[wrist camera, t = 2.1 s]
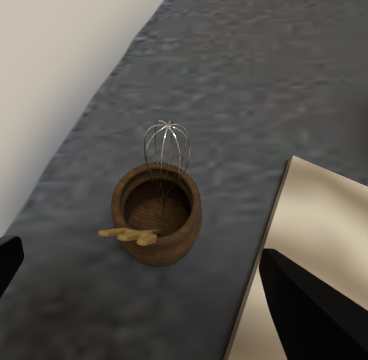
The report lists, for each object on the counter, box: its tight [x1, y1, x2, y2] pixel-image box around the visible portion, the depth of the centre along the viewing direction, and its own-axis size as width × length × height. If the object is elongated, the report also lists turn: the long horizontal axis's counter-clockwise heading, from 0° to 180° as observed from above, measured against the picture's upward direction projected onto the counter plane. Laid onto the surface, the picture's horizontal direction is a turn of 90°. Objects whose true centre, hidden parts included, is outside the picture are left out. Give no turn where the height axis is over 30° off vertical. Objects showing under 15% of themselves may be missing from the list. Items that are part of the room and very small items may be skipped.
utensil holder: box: [98, 120, 202, 266], centre depth 14 cm, size 6×6×12 cm
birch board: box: [223, 156, 368, 360], centre depth 17 cm, size 20×14×1 cm
